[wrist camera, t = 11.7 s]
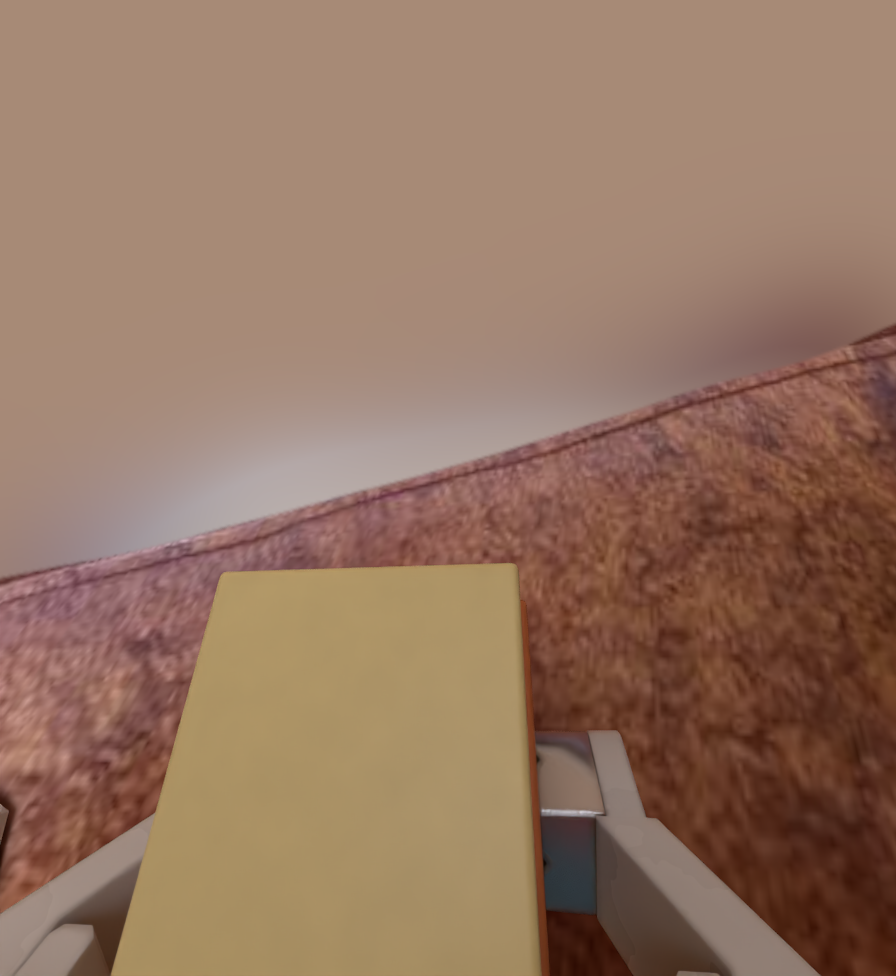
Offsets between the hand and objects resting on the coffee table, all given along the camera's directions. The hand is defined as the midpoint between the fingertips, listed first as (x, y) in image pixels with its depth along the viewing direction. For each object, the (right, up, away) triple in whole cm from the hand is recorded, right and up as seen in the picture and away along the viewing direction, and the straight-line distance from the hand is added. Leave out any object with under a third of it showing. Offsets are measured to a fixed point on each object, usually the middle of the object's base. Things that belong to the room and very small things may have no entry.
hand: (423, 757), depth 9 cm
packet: (+1, -3, +4) cm, 5 cm away
